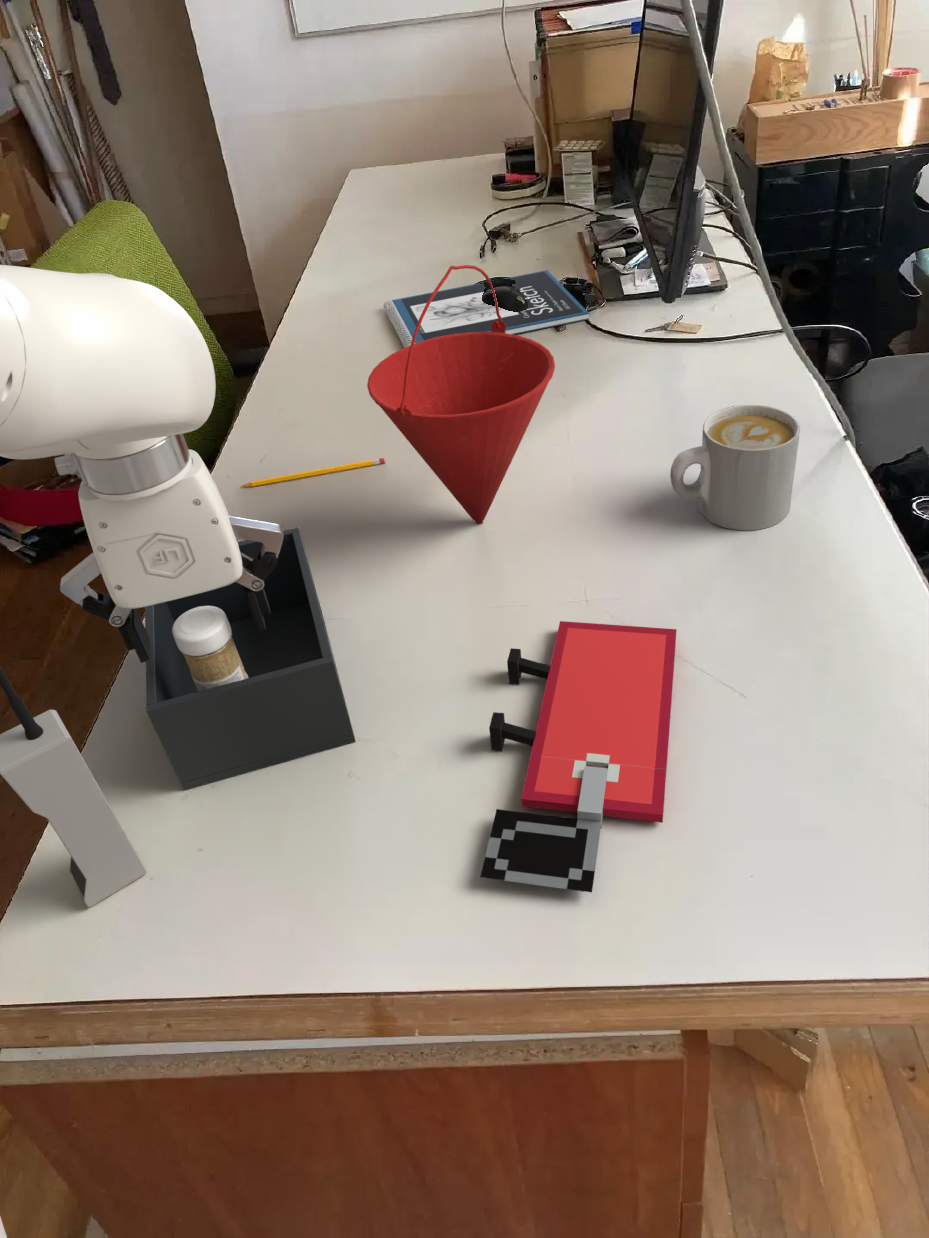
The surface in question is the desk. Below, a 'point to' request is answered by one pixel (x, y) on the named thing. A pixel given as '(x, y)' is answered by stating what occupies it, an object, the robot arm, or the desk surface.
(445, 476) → the fire bucket
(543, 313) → the sketchbook
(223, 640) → the sprinkles bottle
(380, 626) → the desk surface
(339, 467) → the pencil
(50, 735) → the vintage mobile phone
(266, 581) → the wastebin
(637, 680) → the red board with handle
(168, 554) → the robot arm
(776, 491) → the coffee mug
